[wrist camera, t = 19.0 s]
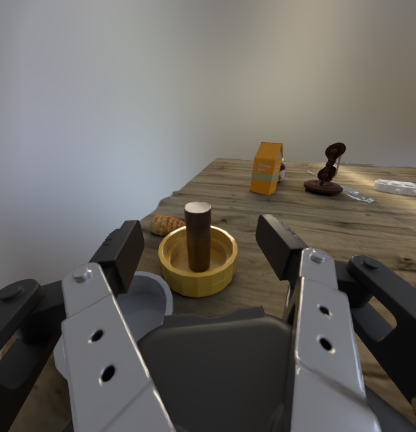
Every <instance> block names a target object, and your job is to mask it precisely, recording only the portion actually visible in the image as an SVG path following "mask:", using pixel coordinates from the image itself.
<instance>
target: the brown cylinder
mask: <svg viewBox="0 0 416 432" xmlns="http://www.w3.org/2000/svg"><path fill="white" fill-rule="evenodd" d="M184 211H185V224H186V237H187V250H188V263H189V268H190V269H191V270H192V271H194V272H197V273H201V272H204V271H206V270H208V268H209V267H210V246H211V206H210V205H209V204H208V203H205V202H191V203H188V204H187V205H185V207H184Z"/></svg>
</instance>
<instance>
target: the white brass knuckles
mask: <svg viewBox="0 0 416 432" xmlns="http://www.w3.org/2000/svg"><path fill="white" fill-rule="evenodd" d="M372 189H374V190H377V191H382V192H389V193H393V194H402V195H408V196H416V184H413V183H411V182H397V181H387V180H380V179H378V180H376V181H375V184H374V185H373V187H372Z"/></svg>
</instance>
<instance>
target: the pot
mask: <svg viewBox="0 0 416 432" xmlns="http://www.w3.org/2000/svg"><path fill="white" fill-rule="evenodd" d="M116 301H117V303H118V305H119V308H120V310H121V312H122V314H123V316H124V319H125V321H126V323H127V325H128V327H129V330H130V332H131V334H132V336H133V338H134V341H135V343H136V342H137V341H138V340H139V339H140V338H142V337H143V336H144V335H145V334H147V333H148V332H149V331H151V330H152V329H154V328H156V327H158V326H160V325H163V319H164V316H166V315H175V308H174V302H173V296H172V293H171V291H170V288H169V286H168V284H167V283H166V282H165V281H164V280H163V279H162V278H161V277H160V276H157V275H155V274H153V273H150V272H141V271H137V272H135V274H134V276H133V279H132V282H131V284H130V287H129V290H128V293H127V294H119V295H118V297H117V300H116ZM53 353H54V360H55V367H56V369H57V370H58V371H59V373H60V374H61V375H62V376H63V377H64V378H65V379H66V380H67V381H68V378H67V370H66V362H65V353H64V345H63V337H62V335H61V337H60V339H59V341H58V343H57V344H56V346H55V348H54V350H53Z"/></svg>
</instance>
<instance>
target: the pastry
mask: <svg viewBox="0 0 416 432" xmlns="http://www.w3.org/2000/svg"><path fill="white" fill-rule="evenodd" d="M185 226H186V224H185V223H184V222H182V221H181V220H179V219H177V218H173V217H171V216H168V217H167V216H166V215H163V216H161V217H160V216H155V217H154V218H153V219H152V222H151V225H150V231H151V232H153V233H154V234H156V235H161V236H166V235H168V234H170V233H171V232H173V231H175V230H177V229H179V228H182V227H185Z"/></svg>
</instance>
